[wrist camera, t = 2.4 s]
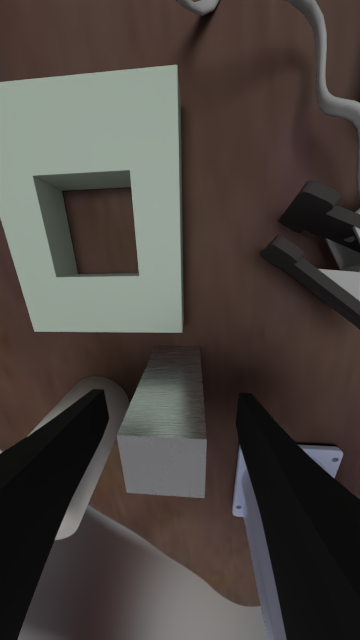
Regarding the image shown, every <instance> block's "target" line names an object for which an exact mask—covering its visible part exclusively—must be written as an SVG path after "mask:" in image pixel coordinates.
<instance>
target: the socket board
mask: <svg viewBox="0 0 360 640" xmlns="http://www.w3.org/2000/svg"><path fill="white" fill-rule="evenodd" d="M125 187H131V190H132V201H133V212H134V223H135V234H136V245H137V256H138V267H139V273H121V274H78V271H77V266H76V261H75V255H74V250H73V245H72V240H71V235H70V230H69V225H68V219H67V214H66V209H65V204H64V199H63V194H62V191H66V190H85V189H105V188H125ZM0 218H1V221H2V225H3V228H4V231H5V235H6V238H7V241H8V245H9V248H10V251H11V255H12V258H13V261H14V265H15V268H16V271H17V275H18V278H19V281H20V285H21V288H22V292H23V295H24V298H25V302H26V305H27V308H28V312H29V315H30V318H31V322H32V325H33V328H34V332H156V333H182V330H183V323H184V299H183V231H182V162H181V104H180V92H179V80H178V68H177V65H169V66H159V67H149V68H139V69H129V70H119V71H108V72H98V73H88V74H78V75H68V76H58V77H47V78H37V79H27V80H17V81H7V82H0Z"/></svg>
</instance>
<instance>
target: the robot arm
mask: <svg viewBox="0 0 360 640" xmlns="http://www.w3.org/2000/svg"><path fill="white" fill-rule="evenodd" d="M108 421H109V413H108V408H107V403H106V398H105V393H104V389H92V390H91V391H90V392H88V393H87V394H85V395H84V396H83V397H81V398H80V399H79V400H77V401H76V402H75V403H73V404H72V405H71V406H69V407H68V408H67V409H65V410H64V411H63V412H61V413H60V414H59V415H57V416H56V417H55V418H53V419H52V420H50V421H49V422H48V423H46V424H45V425H43V426H42V427H40V428H39V429H38V430H36V431H35V432H33V433H32V434H30V435H29V436H27V437H26V438H24V439H23V440H21V441H20V442H18V443H17V444H15V445H14V446H12V447H10V448H9V449H7V450H6V451H4V452H2V453H1V454H0V640H17V639H18V636H19V633H20V630H21V627H22V625H23V621H24V619H25V616H26V613H27V610H28V607H29V605H30V602H31V600H32V597H33V594H34V592H35V589H36V586H37V583H38V581H39V579H40V576H41V573H42V571H43V568H44V565H45V563H46V560H47V558H48V555H49V553H50V550H51V548H52V545H53V543H54V540H55V538H56V535H57V533H58V530H59V528H60V525H61V523H62V521H63V518H64V516H65V513H66V511H67V509H68V506H69V504H70V502H71V500H72V497H73V495H74V493H75V491H76V489H77V487H78V485H79V483H80V481H81V479H82V477H83V475H84V473H85V471H86V469H87V467H88V465H89V464H90V462H91V460H92V458H93V456H94V454H95V452H96V450H97V448H98V446H99V444H100V442H101V440H102V437H103V435H104V432H105V430H106V427H107V424H108ZM236 427H237V432H238V437H239V442H240V445H239V451H238V460H237V469H236V477H235V486H234V495H233V504H232V512H233V515H234V516H238V517H244V522H245V527H246V532H247V538H248V543H249V548H250V553H251V558H252V563H253V569H254V574H255V579H256V584H257V589H258V594H259V600H260V605H261V610H262V615H263V620H264V623H265V627H266V631H267V634H268V637H269V640H360V500H359V499H358V498H357V497H356V496H355V495H353V494H352V493H351V492H350V491H348V490H347V489H346V488H345V487H344V486H342V485H341V484H340V483H339V482H338V481H336V480H335V479H334V478H335V476H336V473H337V470H338V468H339V465H340V462H341V460H342V457H343V452H342V451H341V450H340V448H338V447H335V446H315V445H298V444H297V443H296V442H295V441H294V440H293V439H292V438H291V437H290V436H289V435H288V434H287V433H286V432H285V431H284V430H283V429H282V428H281V427H280V426H279V425H278V423H277V422H276V421H275V420H274V419H273V418H272V417H271V416H270V415H269V413H268V412H267V411H266V410H265V409H264V408H263V406H262V405H261V404H260V403H259V402H258V401H257V399H256V398H255V397H254V396H253V395H252V394H251V393H239V399H238V408H237V418H236Z"/></svg>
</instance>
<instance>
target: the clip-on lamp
mask: <svg viewBox="0 0 360 640" xmlns="http://www.w3.org/2000/svg"><path fill="white" fill-rule="evenodd" d="M176 1H177V2H178V3H179V4H180V5H182V6H183V7H184V8H185V9H187V10H189V11H191V12H193V13H196V14H198V15H200V16H203V15H205V14H207V13H210V12H212V11H214V9H215V8H216V6H217V4H218V2H219V0H201V1H198V2H193V1H191V0H176ZM285 1H287V2H289V3H290V4H292V5H293V6H294V7H295V8H297V9H298V10H299V11H300V12H302V13H303V14H304V15H305V17H306V18H307V20H308V22H309V24H310V26H311V27H312V29H313V33H314V38H315V43H316V57H317V68H316V94H317V102H318V104H319V107H320V109H321V110H322V111H323V112H324V113H325V114H326V115H330V116H333V117H340V118H344V119H346V120H349V121H351V122H352V123H353V125H354V126H355V127H356V129H357V134H358V159H357V177H356V178H357V192H358V197H359V200H360V103H359V102H357V101H354V100H348V99H342V98H338V97H334V96H333V95H331V94H330V93H329V92H328V89H327V87H326V79H325V72H326V52H327V33H326V27H325V22H324V16H323V14H322V12H321V10H320V8H319V7H318V5H317V3H316V1H315V0H285ZM341 196H342V195H341V193H340V192H339V191H337V190H335V189H333V188H331V187H329V186H327V185H324V184H322V183H320V182H318V181H314V180H312V181H308V182H306V184H305V185H304V186H303V188H302V189H301V191H300V192H299V193H298V195H297V196H296V197H295V199H294V200H293V201H292V203H291V204H290V206H289V207H288V208H287V210H286V211H285V212H284V214H283V215H282V217H281V218H280V220H279V222H280V223H282V224H283V225H285V226H287V227H288V228H290V229H291V230H293V231H295V232H301V231H302V230H305V231H307V232H310V233H312V234H314V235H316V236H319V237H321V238H323V239H325V240H326V242H327V244H328V246H329V248H330V250H331V252H332V255H333V257H334V259H335V261H336V263H337V265H338V267H339V270H340V271H339V270H326V269H317V268H316V267H315V266H313V265H312V264H311V263H310V262H308V261H307V260H306V259H304V258H303V256H304V255H305V252H304V251H303V250H302V249H301V248H299V247H298V246H296V245H295V244H293V243H292V242H290V241H289V240H287V239H286V238H284V237H282V236H279V235H278V236H276V237H275V238H274V239H273V240H272V241H271V242H270V243H269V245H268V246H267V247H266V248H265V249H264V250H263V251H262V252H261V254H260V255H261V256H262V257H263V258H265V259H266V260H267V261H269V262H270V263H271V264H273V265H274V266H276V267H281V268H282V269H283V270H285V271H286V272H287V273H289V274H290V275H291V276H292V277H294V278H295V279H296V280H297V281H299V282H300V283H301V284H303V285H304V286H305V287H306V288H308V289H309V290H310V291H312V292H313V293H314V294H315V295H317V296H318V297H319V298H320V299H322V300H323V301H324V302H326V303H327V304H328V305H329V306H331V307H332V308H333V309H334V310H336V311H337V312H338V313H340V314H341V315H342V316H343V317H345V318H346V319H347V320H348V321H350V322H351V323H352V324H354V325H355V326H356V327H357V328H359V329H360V209H358V210H357V211H356V212H353V211H351V210H348V209H346V208H343V207H341V206H338V205H336V203H337V202H338V201H339V199H340V198H341Z"/></svg>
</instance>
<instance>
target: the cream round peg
mask: <svg viewBox="0 0 360 640" xmlns="http://www.w3.org/2000/svg"><path fill="white" fill-rule="evenodd" d="M92 389H104V393H105V398H106V403H107V408H108V413H109V421H108V424H107V427H106V430H105V432H104V435H103V437H102V440H101V442H100V444H99V446H98V448H97V450H96V452H95V454H94V456H93V458H92V460H91V462H90V464H89V465H88V467H87V469H86V471H85V473H84V475H83V477H82V479H81V481H80V483H79V485H78V487H77V489H76V491H75V493H74V495H73V497H72V500H71V502H70V504H69V506H68V509H67V511H66V513H65V516H64V518H63V521H62V523H61V525H60V528H59V530H58V533H57V535H56V538H55V540H59V539H63V538H66V537H69V536H70V535H72V534H73V533H74V532H75V531H76V530H77V528H78V526H79V524H80V522H81V519H82V517H83V515H84V512H85V510H86V507H87V505H88V503H89V500H90V498H91V496H92V493H93V491H94V489H95V486H96V484H97V482H98V479H99V477H100V475H101V472H102V470H103V468H104V465H105V463H106V461H107V458H108V456H109V454H110V451H111V449H112V447H113V444H114V442H115V440H116V437H117V433H118V431H119V428H120V426H121V424H122V421H123V419H124V417H125V414H126V412H127V410H128V408H129V399H128V396H127V394H126V392H125V391H124V390H123V388H122V387H121V386H120V385H118V384H117V383H116V382H114V381H112V380H110V379H108V378H105V377H101V376H90V377H86V378H83V379H81V380H80V381H79V382H77V383H76V384H75V386H74V387H73V388H72V389H71V390H70V391H69V392H68V393H67V394H66V395H65V396H64V397H63V398H62V400H61V401H60V402H59V403H58V404H57V405H56V406H55V407H54V408H53V409H52V410H51V411H50V412H49V414H48V415H47V416H46V417H45V418H44V419H43V420H42V421H41V422H40V423H39V424H38V425H37V426H36V428H35V429H34V430H33V431H32V432H31V433H30V434H32V433H33V432H35V431H36V430H38V429H39V428H40V427H42V426H43V425H45V424H46V423H48V422H49V421H50V420H52V419H53V418H55V417H56V416H57V415H59V414H60V413H61V412H63V411H64V410H65V409H67V408H68V407H69V406H71V405H72V404H73V403H75V402H76V401H77V400H79V399H80V398H81V397H83V396H84V395H85V394H87V393H88V392H90V391H91V390H92ZM30 434H29V435H30ZM29 435H28V436H29Z"/></svg>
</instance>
